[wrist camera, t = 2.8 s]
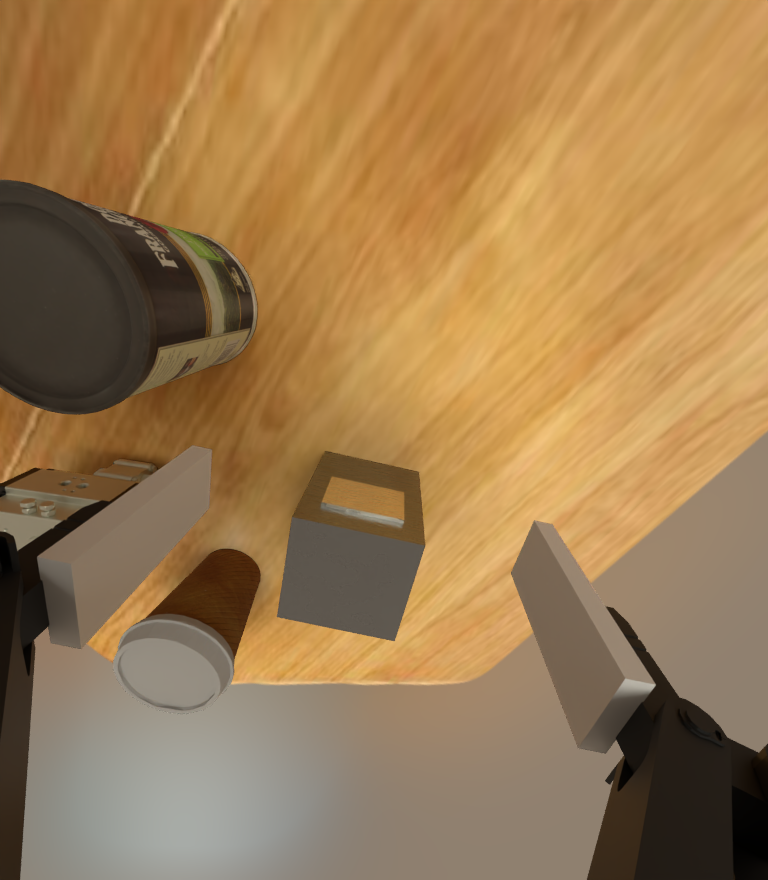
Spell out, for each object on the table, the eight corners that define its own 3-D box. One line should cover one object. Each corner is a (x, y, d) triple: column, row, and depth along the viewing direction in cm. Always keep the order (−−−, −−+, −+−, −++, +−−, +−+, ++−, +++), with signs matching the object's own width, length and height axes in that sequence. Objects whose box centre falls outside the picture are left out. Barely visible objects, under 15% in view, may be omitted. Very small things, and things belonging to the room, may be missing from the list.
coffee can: (148, 205, 28) (-78, 127, 15) (275, 271, 29) (171, 252, 16) (122, 332, 32) (-78, 360, 18) (236, 386, 33) (125, 447, 20)
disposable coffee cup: (174, 575, 41) (88, 680, 30) (215, 520, 38) (137, 613, 27) (247, 618, 43) (192, 733, 32) (292, 568, 40) (248, 675, 29)
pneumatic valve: (200, 504, 38) (114, 593, 26) (84, 487, 37) (-51, 569, 26) (197, 454, 35) (103, 528, 24) (75, 436, 35) (-75, 502, 24)
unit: (310, 534, 38) (276, 622, 28) (325, 448, 35) (292, 513, 24) (395, 553, 38) (392, 646, 28) (419, 469, 35) (426, 542, 25)
